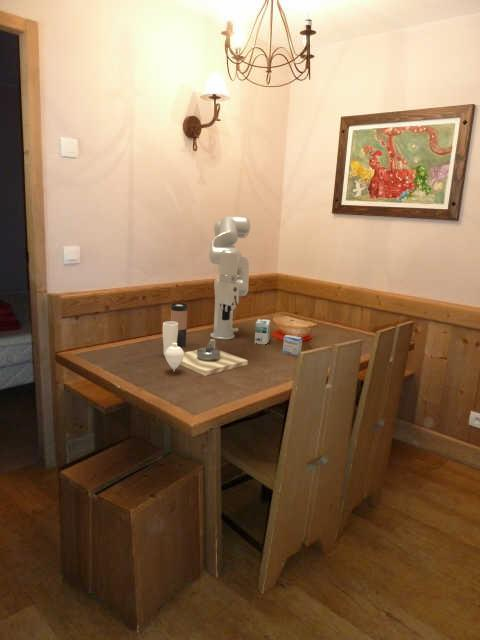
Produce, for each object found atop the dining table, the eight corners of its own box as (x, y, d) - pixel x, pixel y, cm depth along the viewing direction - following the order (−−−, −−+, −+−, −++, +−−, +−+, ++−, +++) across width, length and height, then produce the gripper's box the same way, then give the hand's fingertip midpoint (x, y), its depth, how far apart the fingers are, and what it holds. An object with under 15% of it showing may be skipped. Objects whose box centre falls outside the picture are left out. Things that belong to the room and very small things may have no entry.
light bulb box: (267, 345, 233) (268, 324, 231) (254, 343, 234) (255, 323, 232) (269, 339, 243) (270, 319, 241) (256, 338, 244) (258, 318, 242)
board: (210, 351, 217) (211, 346, 217) (247, 364, 201) (247, 359, 200) (169, 360, 201) (169, 355, 200) (205, 375, 184) (205, 370, 184)
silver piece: (218, 361, 195) (219, 350, 194) (195, 360, 196) (195, 348, 194) (223, 349, 213) (223, 338, 212) (201, 347, 214) (202, 337, 213)
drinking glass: (174, 358, 203) (175, 325, 200) (159, 356, 204) (160, 323, 201) (179, 354, 209) (180, 322, 206) (165, 352, 211) (165, 320, 207)
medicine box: (282, 353, 220) (283, 336, 218) (285, 351, 224) (287, 334, 222) (297, 356, 217) (299, 339, 215) (301, 354, 220) (302, 337, 218)
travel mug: (187, 343, 227) (188, 303, 222) (184, 348, 219) (185, 306, 215) (172, 342, 227) (173, 302, 223) (168, 346, 220) (169, 305, 215)
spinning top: (174, 367, 192) (175, 339, 189) (187, 372, 187) (188, 343, 185) (160, 371, 186) (161, 342, 183) (173, 376, 182) (174, 346, 179)
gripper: (246, 280, 198) (243, 322, 202) (222, 275, 208) (220, 315, 212) (233, 282, 193) (231, 324, 197) (210, 276, 203) (208, 317, 207)
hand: (225, 319), depth 205 cm, fingers closed
